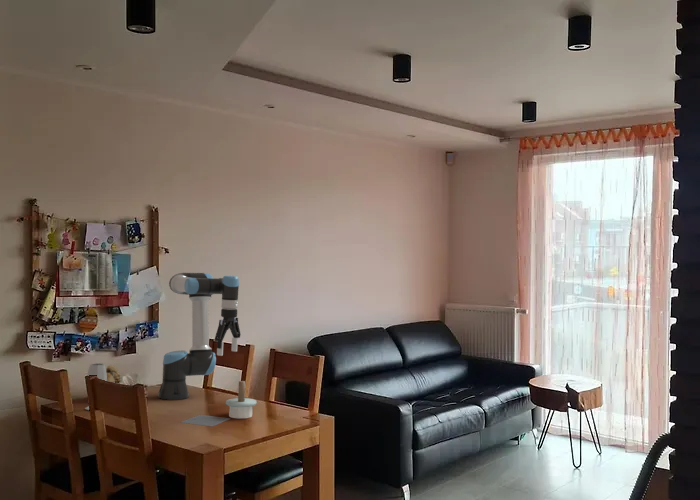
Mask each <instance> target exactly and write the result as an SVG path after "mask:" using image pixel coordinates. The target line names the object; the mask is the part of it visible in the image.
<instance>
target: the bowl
mask: <svg viewBox="0 0 700 500" xmlns="http://www.w3.org/2000/svg"><path fill="white" fill-rule="evenodd" d="M228 407H229V413H228V416H229V417H230V418H232V419H249V418H252V417H253V407H254V406H251V407H231V406H228Z"/></svg>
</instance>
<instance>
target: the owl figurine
mask: <svg viewBox="0 0 700 500" xmlns="http://www.w3.org/2000/svg"><path fill="white" fill-rule="evenodd" d="M106 373H107V381H109V382H115V383H119V384H120V382H121V373H120V372H119V370H118V367H116V365H115V366H114V365H111V364H110V365H107V367H106Z"/></svg>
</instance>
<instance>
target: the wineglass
mask: <svg viewBox="0 0 700 500" xmlns="http://www.w3.org/2000/svg"><path fill="white" fill-rule="evenodd" d="M106 368H107V367H106V364H105V363H102V362H100V363H97V362H95V363H90V364H89V367H88V371H87V375H86V377H87V376H89V375H97V377H98V378H99V379H102V380H105V381H107V373H106ZM89 406H90V405H88V406H86V407H84V409H85V410H86V411H89Z"/></svg>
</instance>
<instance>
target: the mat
mask: <svg viewBox="0 0 700 500" xmlns="http://www.w3.org/2000/svg"><path fill="white" fill-rule="evenodd" d="M230 420H231V417H230V418H227V417H220V416H212V415H207V414H206V415H205V414H199V415H196V416H194V417H190V418H188V419H186V420H182V421H180V423H181V424H182V423H183V424H191V425H195V426H196V425H197V426H206V427H214V426H217V425H220V424H222V423H224V422H227V421H230Z"/></svg>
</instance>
